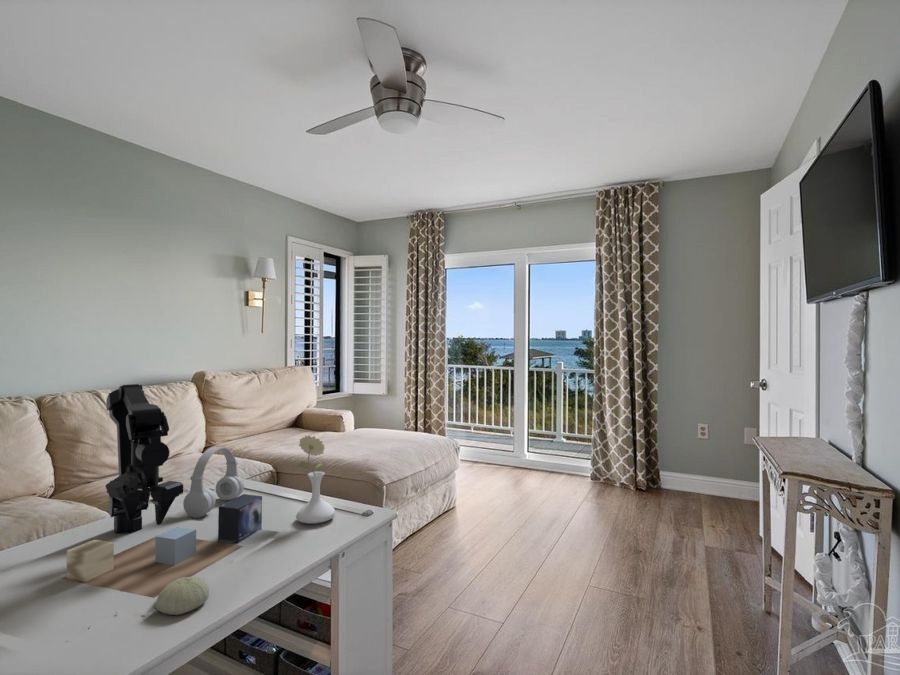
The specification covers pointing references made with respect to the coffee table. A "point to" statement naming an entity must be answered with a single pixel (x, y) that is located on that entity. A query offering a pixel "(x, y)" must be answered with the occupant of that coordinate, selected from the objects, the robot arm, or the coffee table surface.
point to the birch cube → (90, 560)
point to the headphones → (226, 488)
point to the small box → (239, 518)
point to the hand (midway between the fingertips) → (144, 522)
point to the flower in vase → (314, 486)
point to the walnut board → (156, 567)
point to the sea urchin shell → (182, 595)
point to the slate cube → (175, 545)
